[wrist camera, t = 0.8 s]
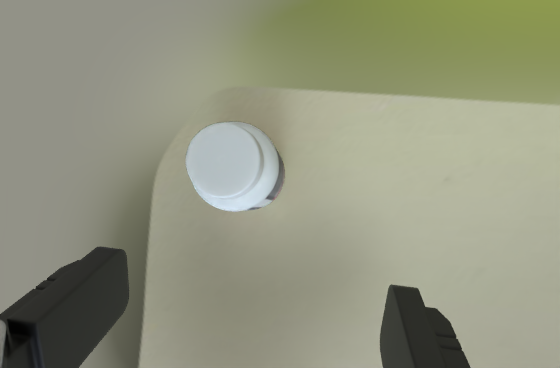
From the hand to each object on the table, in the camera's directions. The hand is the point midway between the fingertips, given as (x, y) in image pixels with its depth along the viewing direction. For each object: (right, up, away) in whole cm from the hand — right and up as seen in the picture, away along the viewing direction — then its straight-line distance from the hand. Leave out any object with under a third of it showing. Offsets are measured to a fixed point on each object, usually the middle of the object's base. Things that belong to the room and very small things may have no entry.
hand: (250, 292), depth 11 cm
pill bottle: (-1, +4, +18) cm, 19 cm away
